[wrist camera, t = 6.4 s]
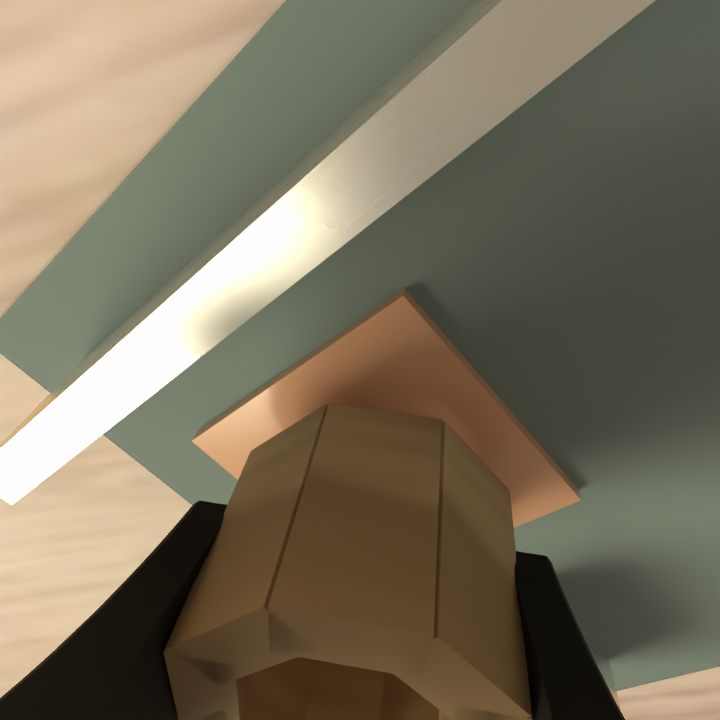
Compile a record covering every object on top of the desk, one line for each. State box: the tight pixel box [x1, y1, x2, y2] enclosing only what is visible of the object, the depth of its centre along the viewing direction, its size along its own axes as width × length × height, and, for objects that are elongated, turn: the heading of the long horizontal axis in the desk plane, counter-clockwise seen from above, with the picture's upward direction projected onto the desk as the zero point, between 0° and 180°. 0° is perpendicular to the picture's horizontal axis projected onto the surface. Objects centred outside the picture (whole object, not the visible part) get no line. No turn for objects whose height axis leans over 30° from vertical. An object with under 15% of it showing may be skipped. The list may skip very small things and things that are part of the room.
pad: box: [192, 288, 581, 528], centre depth 13 cm, size 6×6×1 cm
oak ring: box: [163, 403, 532, 720], centre depth 10 cm, size 5×5×4 cm
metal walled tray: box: [0, 0, 655, 711], centre depth 10 cm, size 15×15×4 cm
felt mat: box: [0, 0, 720, 691], centre depth 12 cm, size 18×18×1 cm
